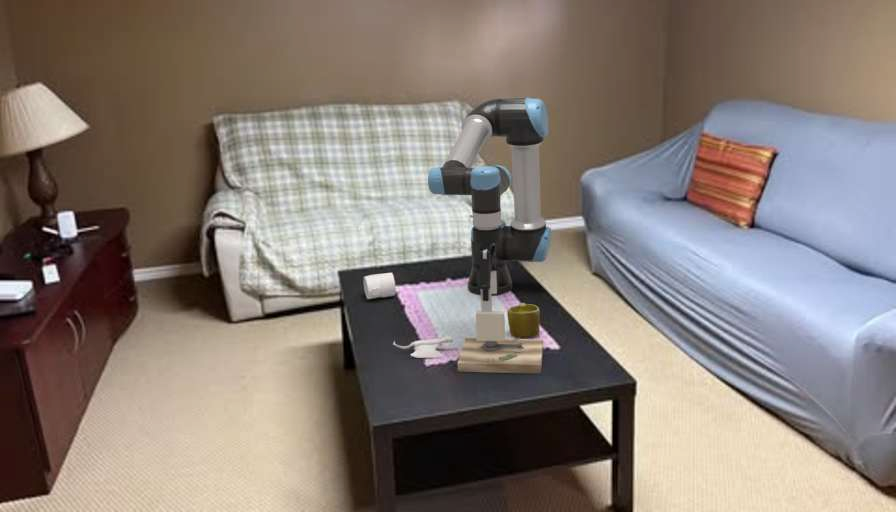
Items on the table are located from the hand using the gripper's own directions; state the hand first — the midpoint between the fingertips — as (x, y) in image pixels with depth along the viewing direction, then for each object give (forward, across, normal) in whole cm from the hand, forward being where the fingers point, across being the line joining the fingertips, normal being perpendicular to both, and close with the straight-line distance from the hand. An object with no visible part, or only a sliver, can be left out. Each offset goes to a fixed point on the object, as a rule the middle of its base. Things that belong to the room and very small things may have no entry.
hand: (489, 302), depth 208 cm
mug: (+16, -18, +8) cm, 25 cm away
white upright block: (+14, 0, +2) cm, 14 cm away
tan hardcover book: (+16, +2, +3) cm, 16 cm away
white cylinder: (+16, -46, -43) cm, 65 cm away
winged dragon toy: (+17, -3, -20) cm, 26 cm away
